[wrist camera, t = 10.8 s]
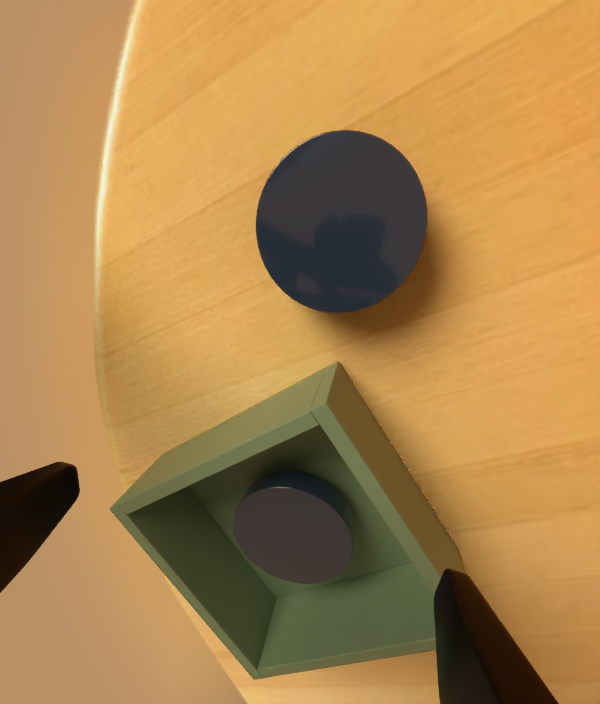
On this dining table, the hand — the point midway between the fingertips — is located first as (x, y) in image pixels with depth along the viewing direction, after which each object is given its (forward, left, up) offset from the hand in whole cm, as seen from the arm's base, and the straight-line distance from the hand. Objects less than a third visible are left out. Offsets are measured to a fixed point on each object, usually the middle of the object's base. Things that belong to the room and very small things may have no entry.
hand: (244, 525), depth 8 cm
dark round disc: (-6, -8, -11) cm, 15 cm away
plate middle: (+5, +5, -12) cm, 14 cm away
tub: (-7, -8, -12) cm, 16 cm away
